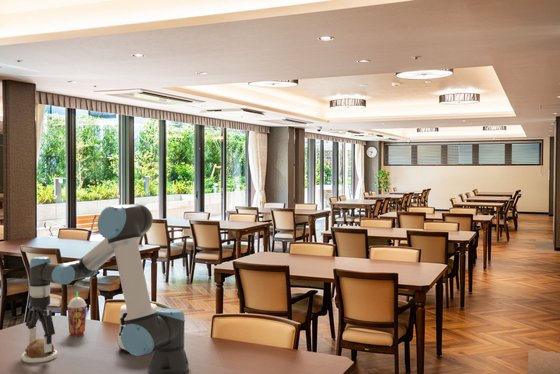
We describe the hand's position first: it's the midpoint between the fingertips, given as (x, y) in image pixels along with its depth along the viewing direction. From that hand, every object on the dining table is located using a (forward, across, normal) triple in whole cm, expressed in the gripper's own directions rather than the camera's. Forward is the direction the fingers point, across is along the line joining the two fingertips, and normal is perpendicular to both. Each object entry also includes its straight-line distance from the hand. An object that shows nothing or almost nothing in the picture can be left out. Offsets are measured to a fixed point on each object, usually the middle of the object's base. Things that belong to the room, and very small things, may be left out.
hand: (39, 348), depth 224 cm
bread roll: (+3, 0, 0) cm, 3 cm away
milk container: (+4, -18, -34) cm, 39 cm away
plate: (+4, 0, 0) cm, 4 cm away
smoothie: (+4, +18, -26) cm, 32 cm away
